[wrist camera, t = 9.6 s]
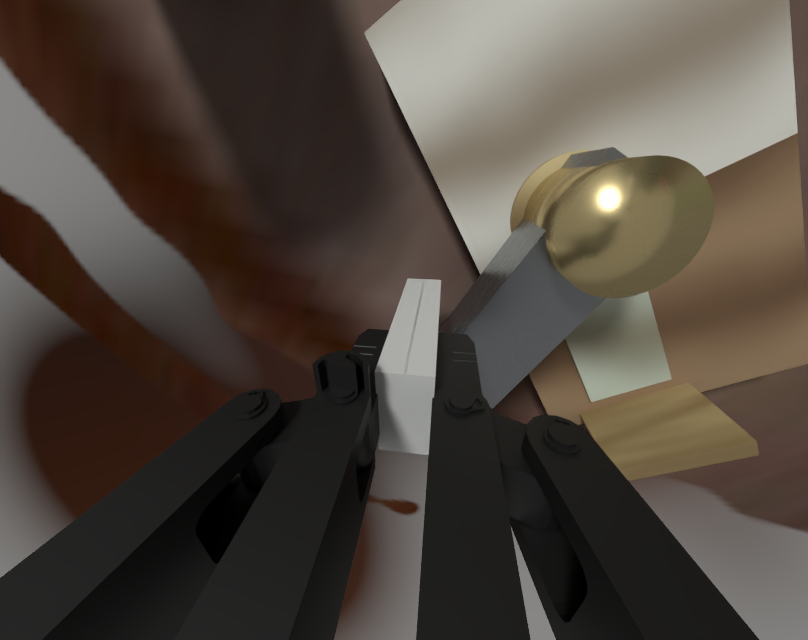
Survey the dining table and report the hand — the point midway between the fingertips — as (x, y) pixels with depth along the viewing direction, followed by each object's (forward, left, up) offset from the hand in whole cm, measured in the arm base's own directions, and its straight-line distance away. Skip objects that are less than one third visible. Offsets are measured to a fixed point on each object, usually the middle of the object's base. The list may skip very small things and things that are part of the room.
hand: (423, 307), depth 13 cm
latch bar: (+1, +3, -1) cm, 4 cm away
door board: (0, +8, -3) cm, 9 cm away
